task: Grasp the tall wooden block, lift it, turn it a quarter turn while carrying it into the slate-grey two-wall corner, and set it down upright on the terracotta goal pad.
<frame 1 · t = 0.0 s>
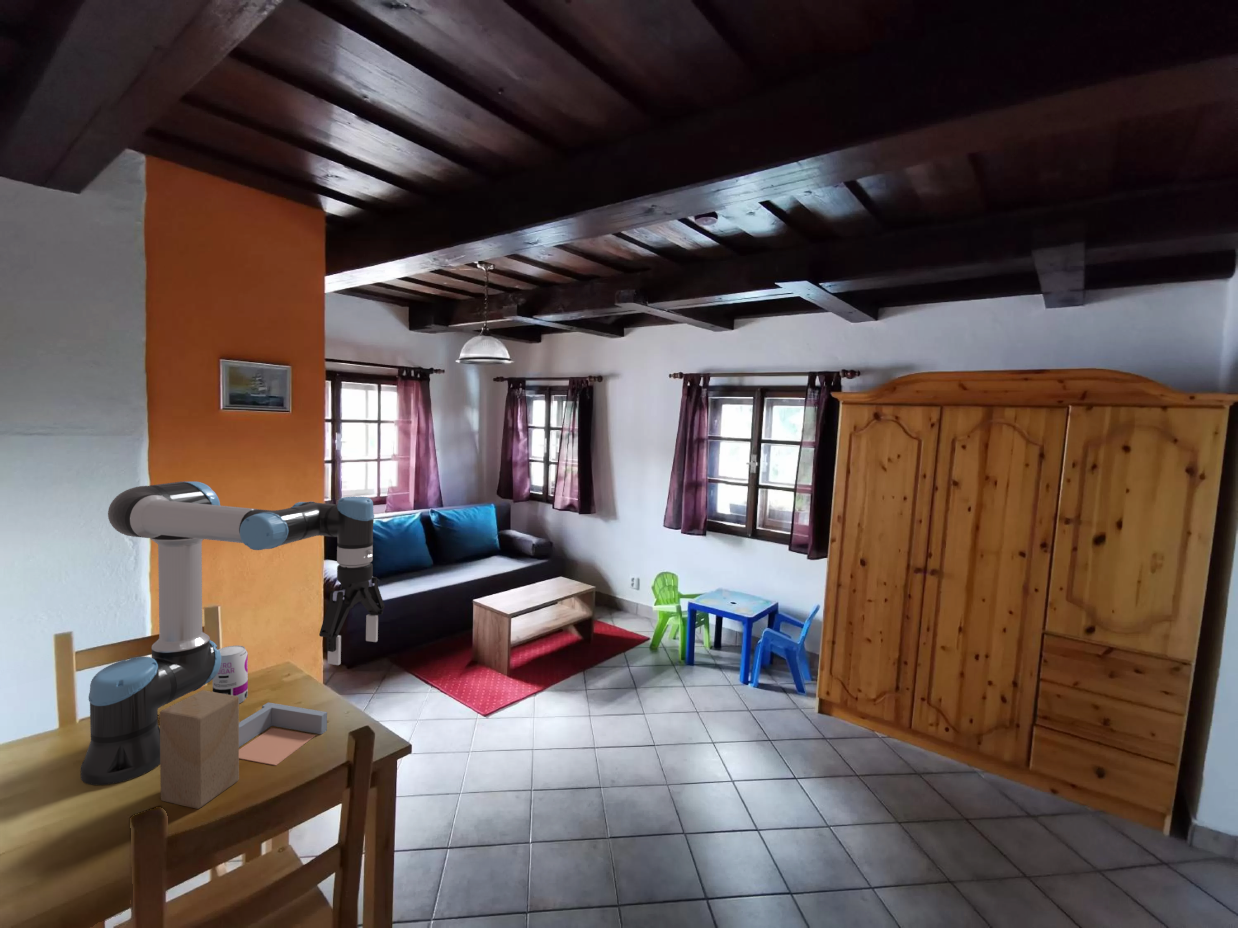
hand: (353, 651, 132), 28 cm above the table, fingers open, 13 cm apart
wooden block: (201, 791, 123), on the table
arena: (273, 745, 140), on the table
supplement can: (230, 701, 160), on the table
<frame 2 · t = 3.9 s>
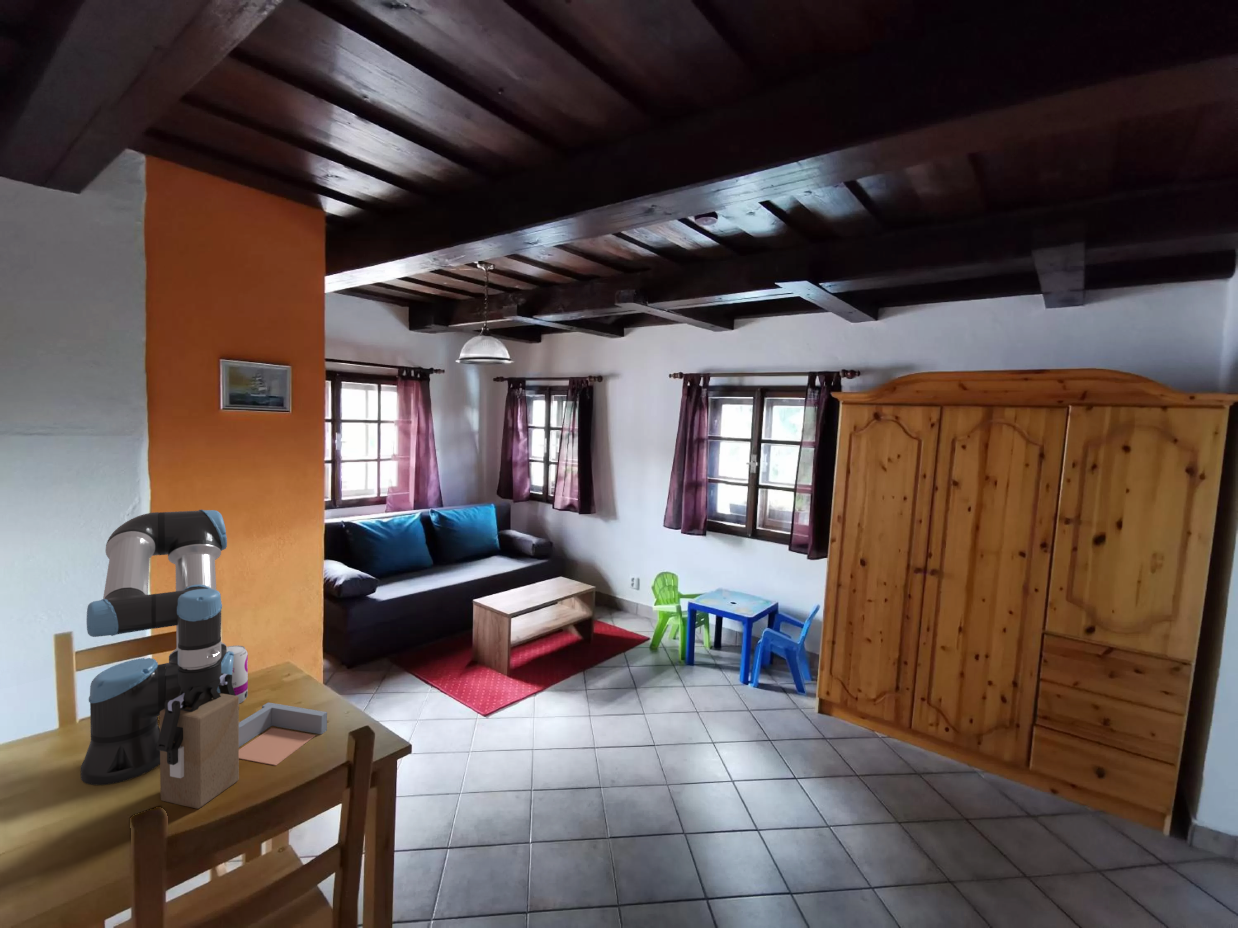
hand: (200, 761, 122), 7 cm above the table, fingers closed on wooden block, 10 cm apart
wooden block: (200, 791, 123), on the table, touching gripper
everything else where it was.
when the fingers open (9 cm above the table, at t = 10.4 s): wooden block drops 2 cm, resting on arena.
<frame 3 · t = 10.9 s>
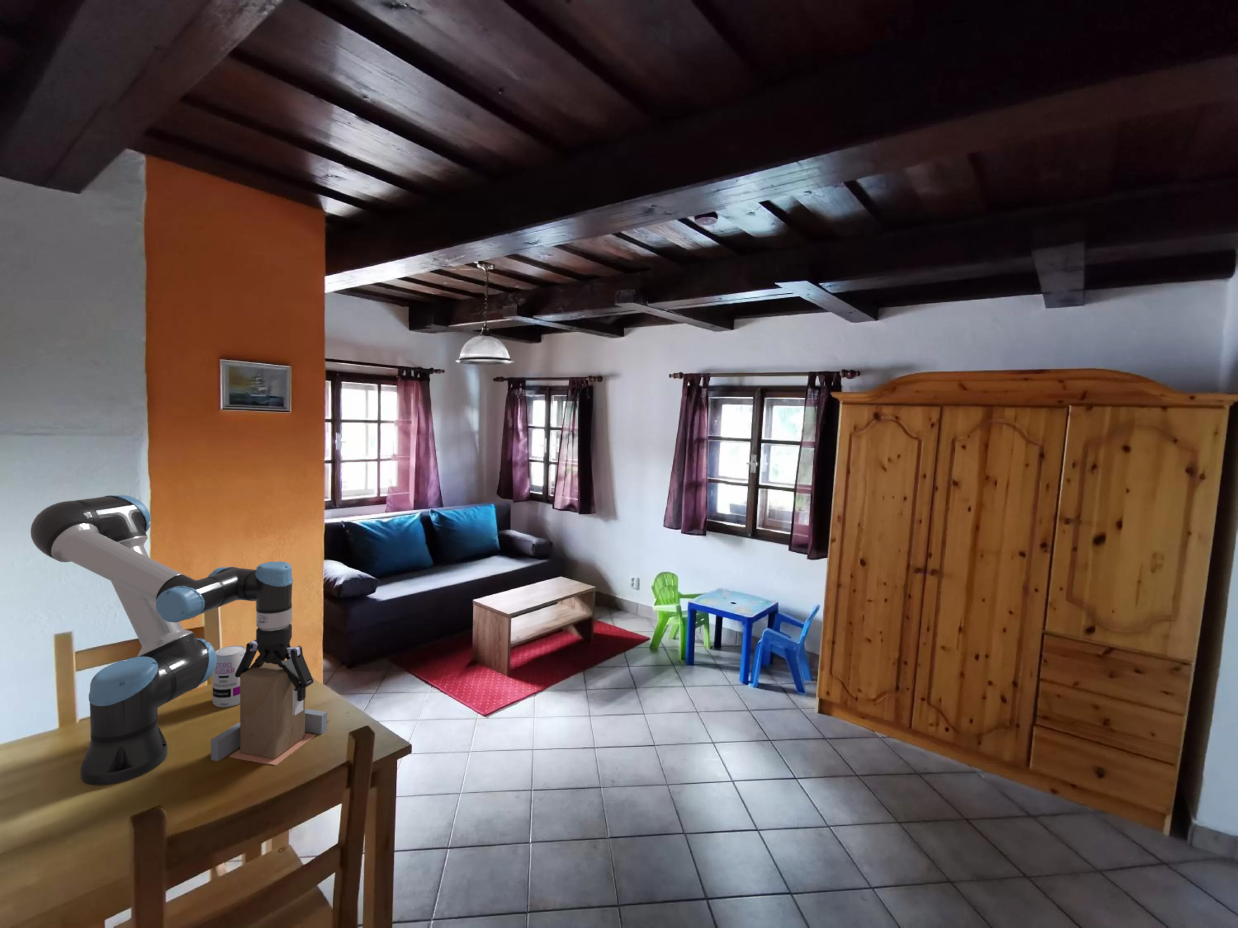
hand: (274, 708, 139), 10 cm above the table, fingers open, 13 cm apart
wooden block: (273, 745, 140), resting on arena
everything else where it was.
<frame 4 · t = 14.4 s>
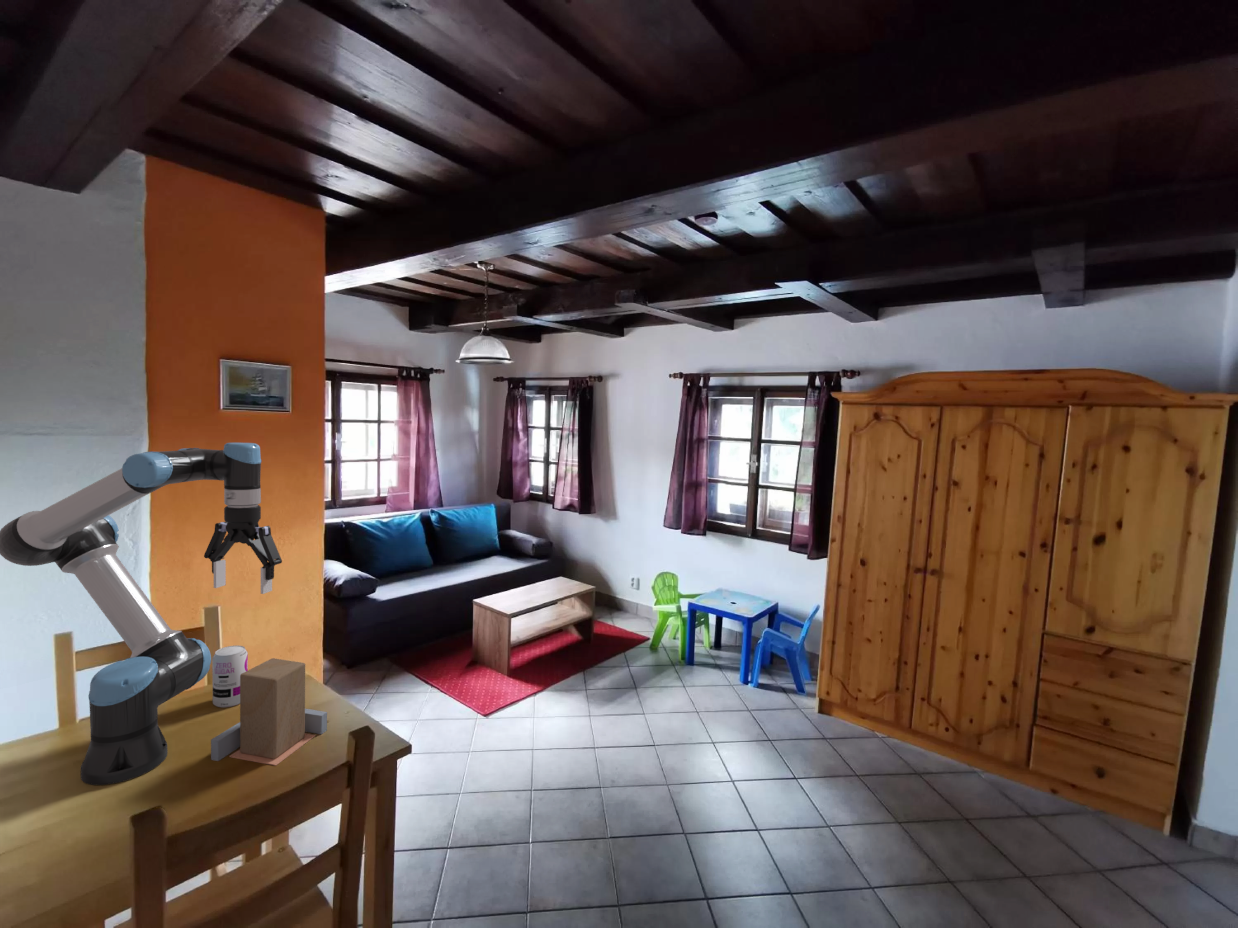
hand: (242, 589, 140), 39 cm above the table, fingers open, 13 cm apart
nothing on the table moved.
at the end: wooden block inside the target area on the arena (0.1 cm from its centre), point 0.0 cm above the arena's base; wooden block tilted 0°; the gripper is holding nothing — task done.
